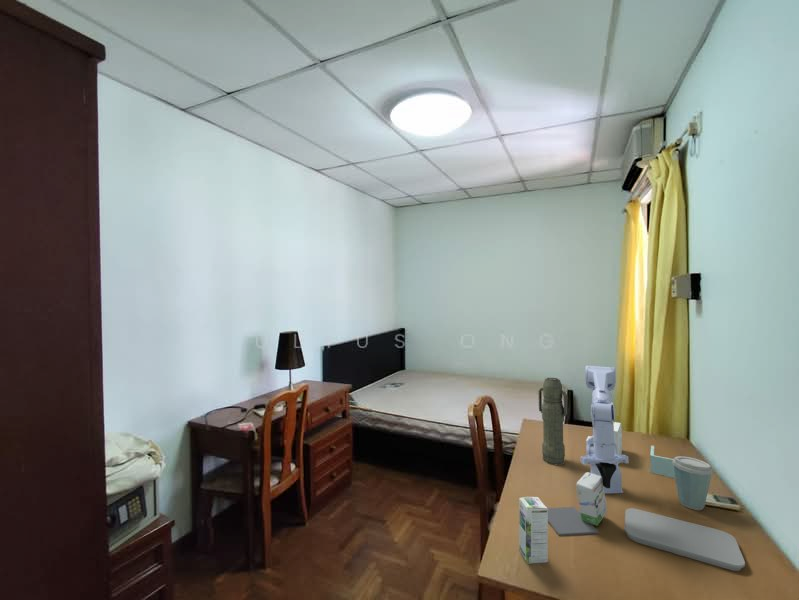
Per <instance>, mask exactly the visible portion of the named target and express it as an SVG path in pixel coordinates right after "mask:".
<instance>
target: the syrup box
mask: <svg viewBox="0 0 799 600" xmlns="http://www.w3.org/2000/svg"><path fill="white" fill-rule="evenodd" d="M518 499H519V500H518V501H519V503H518V505H519V511H518V512H519V514H518V515H519V516H518V520H519V521H518V525H519V526H518V532H519V533H518V537H519V538H518V544H519V546H518V549H519V552H520V554H521V555H522V557H523V559H524V560H525V562H526V563H527V565H528V564H529V565H530V564H542V563H543V564H544V563H548V562H549V560H548V559H549V555H548V553H549V552H548V550H549V542H548V540H549V537H548V536H549V534H548V531H549V529H548V527H549V525H548V524H549V523H548V508H549V507H547V506H546V505H545V503H544V502H543V501H542V500H541V499H540V498H539V497H538V496H523V497H519V498H518Z"/></svg>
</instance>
